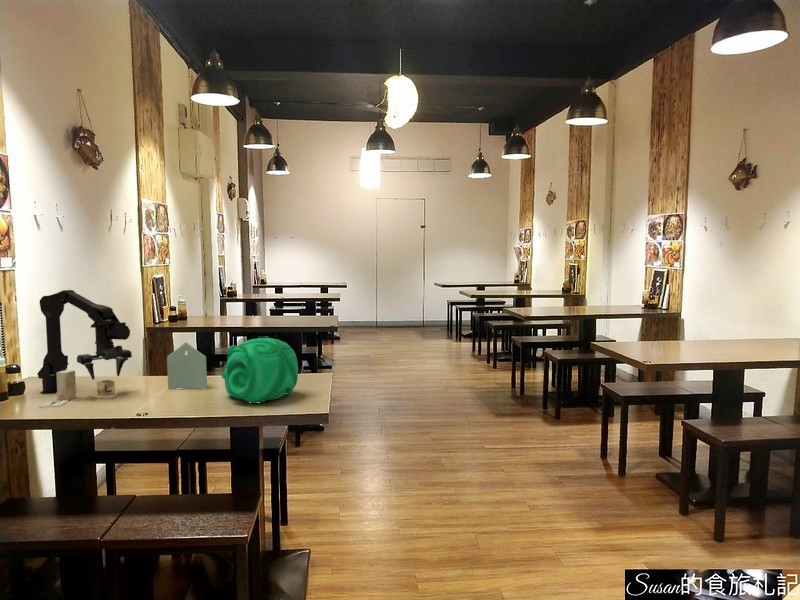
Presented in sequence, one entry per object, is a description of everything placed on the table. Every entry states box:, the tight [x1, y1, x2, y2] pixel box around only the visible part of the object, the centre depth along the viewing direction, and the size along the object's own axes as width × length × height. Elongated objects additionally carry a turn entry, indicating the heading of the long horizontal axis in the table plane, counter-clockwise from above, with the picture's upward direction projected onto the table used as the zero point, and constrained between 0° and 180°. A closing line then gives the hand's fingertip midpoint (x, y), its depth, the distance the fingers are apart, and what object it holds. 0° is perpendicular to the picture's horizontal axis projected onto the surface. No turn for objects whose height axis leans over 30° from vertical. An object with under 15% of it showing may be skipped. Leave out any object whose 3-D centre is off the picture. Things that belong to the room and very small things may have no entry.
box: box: [56, 369, 77, 401], centre depth 221 cm, size 5×4×11 cm
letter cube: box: [96, 379, 116, 396], centre depth 226 cm, size 5×5×5 cm
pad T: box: [38, 400, 69, 408], centre depth 213 cm, size 7×7×1 cm
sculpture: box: [221, 337, 299, 403], centre depth 222 cm, size 27×28×30 cm
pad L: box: [93, 391, 120, 398], centre depth 227 cm, size 7×7×1 cm
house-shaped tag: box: [166, 342, 208, 390], centre depth 240 cm, size 16×8×20 cm, turn 88°
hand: (105, 377), depth 226 cm, fingers open, 9 cm apart
